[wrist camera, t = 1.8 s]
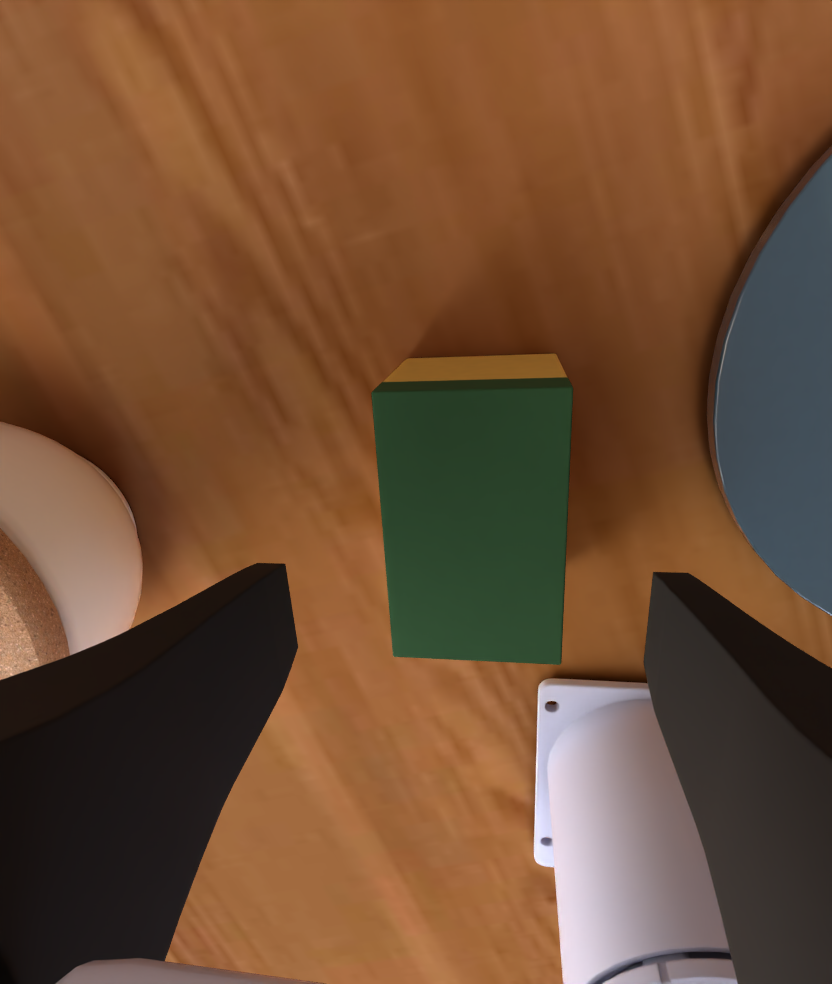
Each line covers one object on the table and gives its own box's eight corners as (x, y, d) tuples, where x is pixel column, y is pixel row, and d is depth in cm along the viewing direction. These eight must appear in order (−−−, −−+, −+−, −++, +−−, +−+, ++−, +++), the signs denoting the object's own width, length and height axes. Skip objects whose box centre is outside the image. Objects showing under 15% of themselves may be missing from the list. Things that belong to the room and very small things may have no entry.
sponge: (549, 573, 20) (561, 665, 16) (418, 570, 21) (392, 657, 16) (556, 353, 18) (573, 386, 13) (405, 358, 18) (371, 391, 14)
